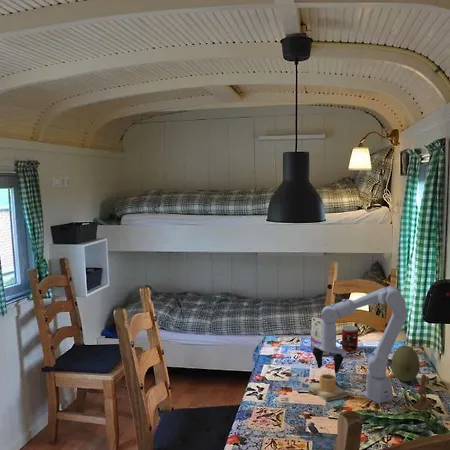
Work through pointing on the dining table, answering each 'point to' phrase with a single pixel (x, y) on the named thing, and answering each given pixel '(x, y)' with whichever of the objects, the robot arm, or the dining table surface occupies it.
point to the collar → (327, 383)
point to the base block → (327, 395)
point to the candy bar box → (317, 332)
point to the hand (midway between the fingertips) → (328, 369)
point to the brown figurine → (423, 401)
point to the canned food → (349, 338)
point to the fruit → (405, 363)
